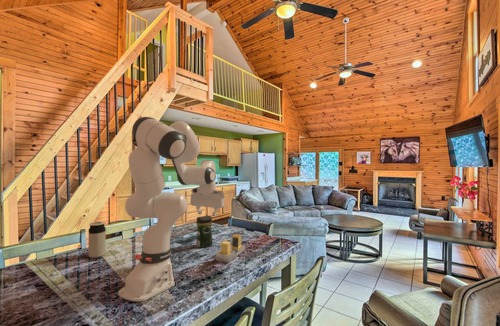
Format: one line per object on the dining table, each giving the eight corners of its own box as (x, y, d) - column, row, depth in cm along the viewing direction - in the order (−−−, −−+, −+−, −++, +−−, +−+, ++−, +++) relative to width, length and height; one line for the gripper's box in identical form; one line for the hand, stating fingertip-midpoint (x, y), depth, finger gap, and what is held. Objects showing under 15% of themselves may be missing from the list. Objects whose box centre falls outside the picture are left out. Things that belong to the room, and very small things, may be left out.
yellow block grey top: (230, 254, 133) (231, 241, 133) (227, 257, 129) (227, 244, 129) (224, 253, 135) (224, 240, 135) (220, 256, 130) (220, 243, 130)
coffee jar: (208, 242, 158) (208, 214, 158) (214, 246, 152) (214, 216, 151) (194, 245, 153) (194, 215, 152) (199, 249, 146) (199, 218, 146)
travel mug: (95, 258, 130) (95, 225, 130) (84, 256, 133) (85, 224, 133) (108, 253, 138) (108, 221, 138) (98, 251, 140) (98, 220, 140)
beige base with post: (228, 263, 127) (228, 245, 126) (215, 260, 129) (215, 243, 129) (245, 249, 147) (245, 234, 147) (233, 247, 150) (234, 232, 150)
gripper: (226, 190, 133) (226, 215, 132) (195, 188, 141) (195, 212, 140) (221, 191, 127) (220, 217, 126) (188, 189, 135) (188, 214, 135)
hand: (207, 215), depth 134 cm, fingers open, 8 cm apart
